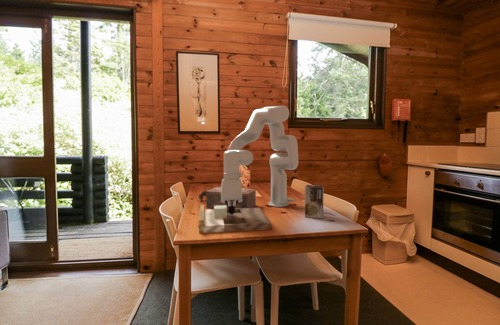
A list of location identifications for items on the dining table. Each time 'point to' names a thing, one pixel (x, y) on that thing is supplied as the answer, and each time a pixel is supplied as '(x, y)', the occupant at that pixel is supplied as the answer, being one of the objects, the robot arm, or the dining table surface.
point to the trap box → (233, 220)
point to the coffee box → (314, 201)
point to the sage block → (220, 211)
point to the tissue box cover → (215, 196)
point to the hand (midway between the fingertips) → (231, 213)
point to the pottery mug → (202, 195)
